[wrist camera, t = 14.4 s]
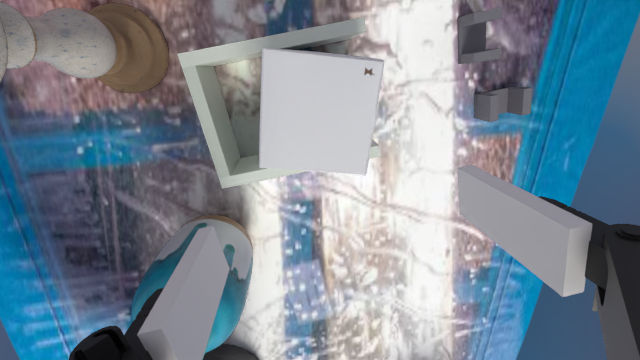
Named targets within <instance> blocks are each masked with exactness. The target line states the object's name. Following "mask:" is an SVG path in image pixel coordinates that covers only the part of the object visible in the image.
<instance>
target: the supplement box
mask: <svg viewBox="0 0 640 360" xmlns="http://www.w3.org/2000/svg"><path fill="white" fill-rule="evenodd" d="M383 67H384V61H383V60H381V59H375V58H368V57H360V56H352V55H343V54H333V53H323V52H313V51H300V50H287V49H274V48H262V65H261V95H260V133H259V167H260V168H273V169H289V170H304V171H319V172H329V173H341V174H352V175H366V173H367V167H368V161H369V155H370V148H371V142H372V136H373V130H374V127H375V122H376V111H377V105H378V98H379V92H380V86H381V80H382V74H383Z"/></svg>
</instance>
